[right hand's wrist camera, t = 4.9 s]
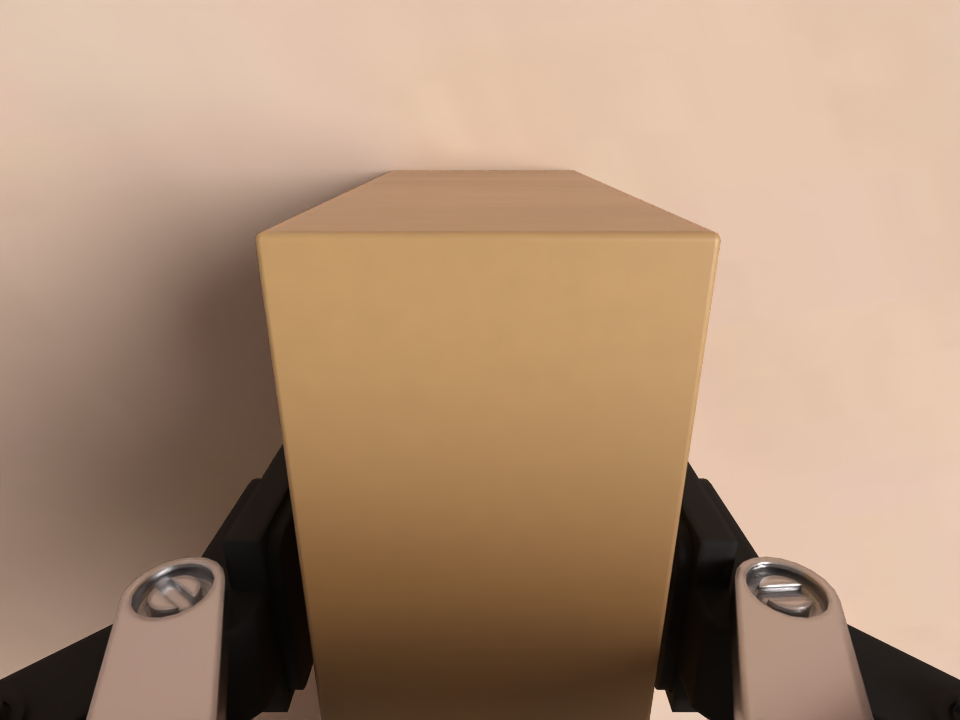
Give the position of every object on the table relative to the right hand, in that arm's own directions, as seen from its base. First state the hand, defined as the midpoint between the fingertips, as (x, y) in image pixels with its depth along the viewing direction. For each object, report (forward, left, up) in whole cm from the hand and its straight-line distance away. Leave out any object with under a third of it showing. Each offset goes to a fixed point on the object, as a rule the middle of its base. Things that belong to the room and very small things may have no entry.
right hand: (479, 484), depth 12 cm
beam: (+24, -11, -3) cm, 27 cm away
